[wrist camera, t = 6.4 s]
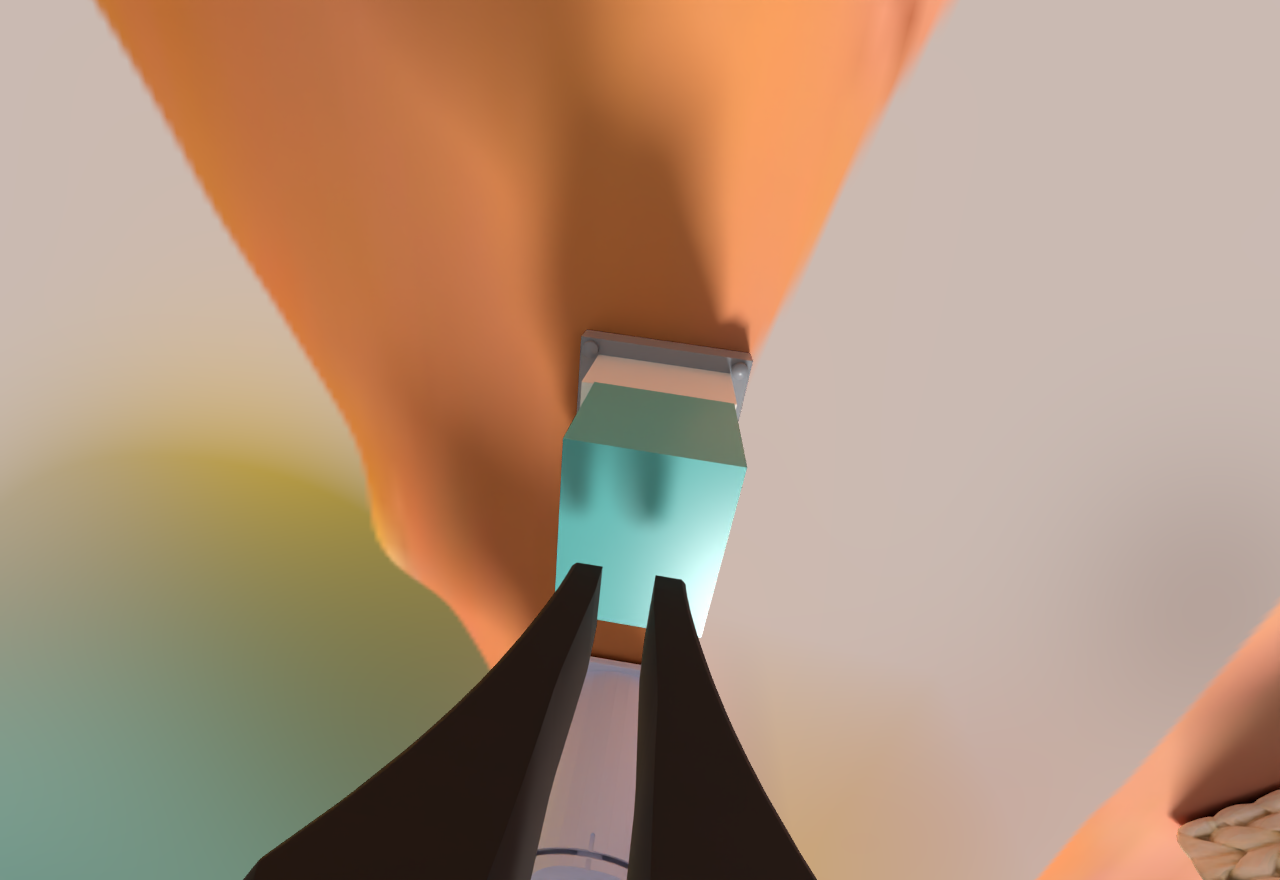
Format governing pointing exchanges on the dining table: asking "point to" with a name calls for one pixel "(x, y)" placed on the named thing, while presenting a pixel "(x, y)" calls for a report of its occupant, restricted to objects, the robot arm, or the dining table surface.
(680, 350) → the baseplate
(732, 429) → the teal brick
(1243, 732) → the dining table surface
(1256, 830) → the storage basket
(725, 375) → the cream brick
